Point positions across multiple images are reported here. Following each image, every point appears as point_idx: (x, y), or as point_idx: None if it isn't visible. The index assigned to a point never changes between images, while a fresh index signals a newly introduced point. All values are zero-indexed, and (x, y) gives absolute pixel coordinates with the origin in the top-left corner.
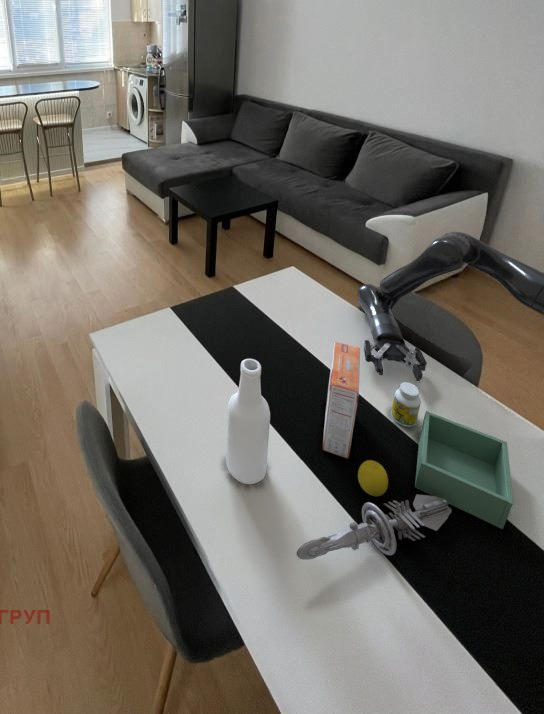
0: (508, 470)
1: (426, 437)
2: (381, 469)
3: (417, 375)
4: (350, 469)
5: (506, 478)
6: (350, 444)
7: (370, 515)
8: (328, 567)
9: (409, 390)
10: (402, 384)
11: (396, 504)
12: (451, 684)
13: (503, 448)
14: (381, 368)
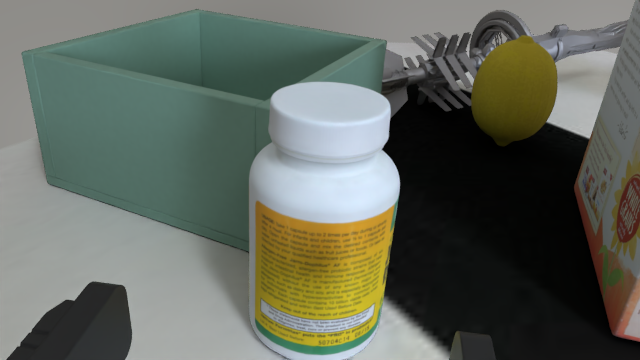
0: (126, 26)
1: (334, 64)
2: (506, 42)
3: (119, 297)
4: (560, 175)
5: (156, 21)
6: (598, 114)
7: None
8: (574, 88)
9: (336, 97)
10: (369, 113)
11: (469, 36)
12: (406, 47)
13: (65, 44)
14: (479, 337)
